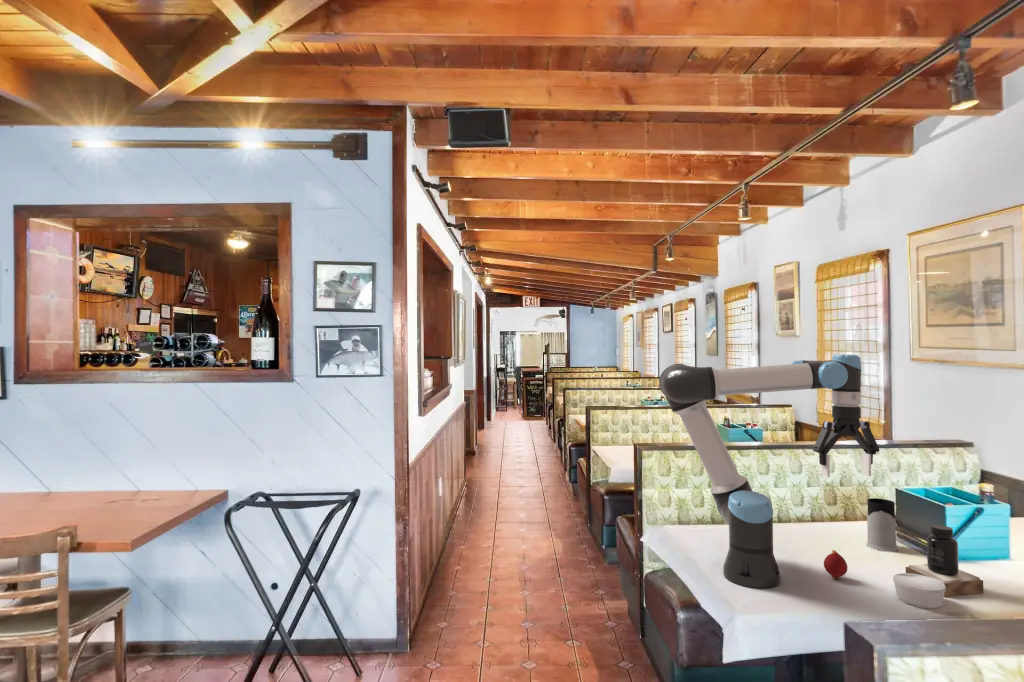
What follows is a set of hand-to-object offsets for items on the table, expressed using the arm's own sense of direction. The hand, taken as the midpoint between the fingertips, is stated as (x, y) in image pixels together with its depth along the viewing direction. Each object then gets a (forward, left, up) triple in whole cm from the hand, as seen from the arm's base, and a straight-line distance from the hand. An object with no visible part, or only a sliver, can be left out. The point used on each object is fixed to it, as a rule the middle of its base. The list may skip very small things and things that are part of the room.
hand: (846, 475), depth 171 cm
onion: (-11, -8, -27) cm, 30 cm away
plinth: (+14, -18, -27) cm, 35 cm away
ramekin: (0, -25, -27) cm, 37 cm away
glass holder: (+24, +14, -27) cm, 39 cm away
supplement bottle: (+14, -18, -23) cm, 33 cm away
